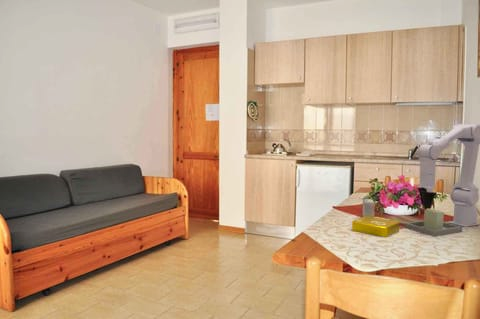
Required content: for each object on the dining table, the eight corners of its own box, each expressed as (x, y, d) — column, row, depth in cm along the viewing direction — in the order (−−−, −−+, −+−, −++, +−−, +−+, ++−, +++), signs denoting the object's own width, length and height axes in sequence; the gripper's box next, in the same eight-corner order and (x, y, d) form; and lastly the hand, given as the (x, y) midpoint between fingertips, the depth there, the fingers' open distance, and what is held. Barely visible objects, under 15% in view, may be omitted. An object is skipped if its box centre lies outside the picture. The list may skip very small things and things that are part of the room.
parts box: (430, 227, 166) (431, 209, 165) (442, 231, 160) (443, 212, 160) (423, 228, 164) (424, 209, 163) (436, 232, 159) (437, 212, 158)
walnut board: (404, 216, 184) (404, 214, 184) (426, 222, 173) (426, 220, 173) (382, 219, 178) (382, 217, 178) (403, 226, 167) (403, 223, 167)
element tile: (400, 231, 161) (401, 219, 161) (385, 238, 150) (386, 226, 150) (366, 224, 171) (366, 214, 171) (350, 231, 160) (350, 220, 160)
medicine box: (374, 221, 175) (374, 202, 175) (363, 220, 176) (364, 202, 175) (371, 217, 183) (372, 199, 182) (362, 216, 184) (362, 198, 183)
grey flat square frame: (432, 223, 172) (432, 219, 172) (462, 231, 160) (462, 226, 159) (404, 227, 165) (405, 223, 165) (433, 236, 152) (433, 231, 152)
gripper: (414, 171, 167) (412, 202, 168) (419, 175, 153) (418, 209, 154) (432, 172, 165) (430, 203, 166) (439, 176, 151) (437, 210, 152)
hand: (425, 206), depth 160 cm, fingers open, 7 cm apart
